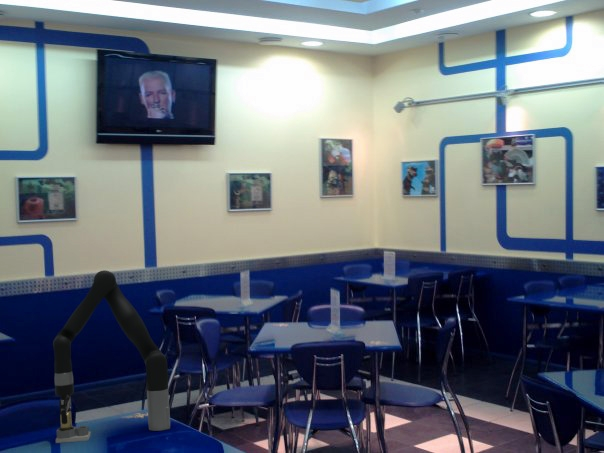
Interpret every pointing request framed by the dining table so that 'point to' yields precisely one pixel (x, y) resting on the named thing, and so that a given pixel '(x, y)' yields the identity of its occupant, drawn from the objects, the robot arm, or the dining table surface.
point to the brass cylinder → (69, 422)
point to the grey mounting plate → (73, 434)
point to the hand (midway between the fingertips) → (66, 421)
